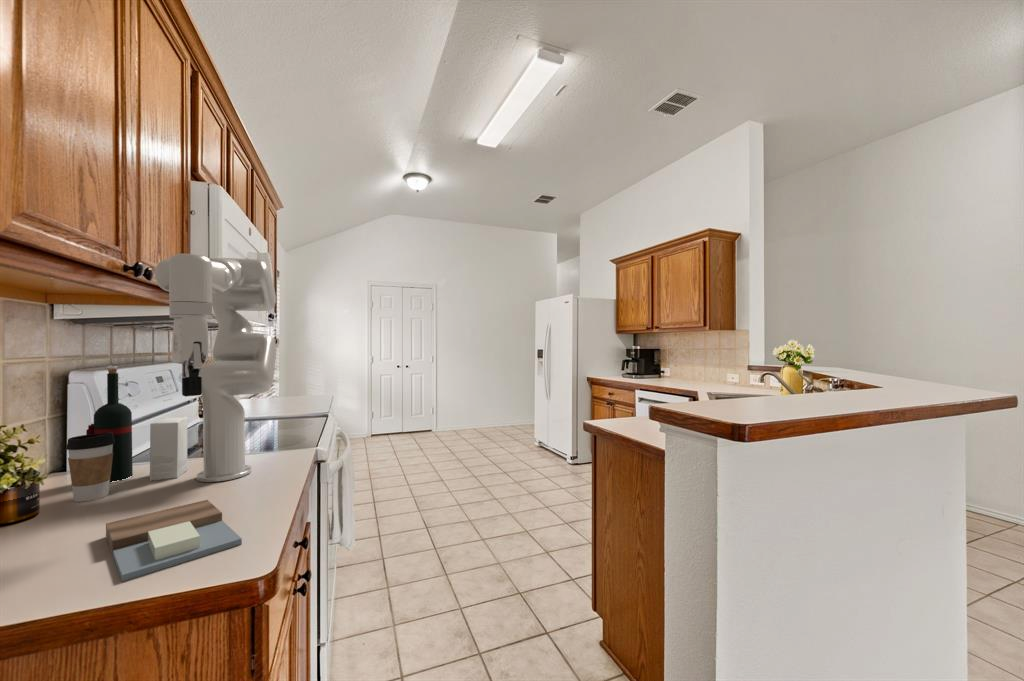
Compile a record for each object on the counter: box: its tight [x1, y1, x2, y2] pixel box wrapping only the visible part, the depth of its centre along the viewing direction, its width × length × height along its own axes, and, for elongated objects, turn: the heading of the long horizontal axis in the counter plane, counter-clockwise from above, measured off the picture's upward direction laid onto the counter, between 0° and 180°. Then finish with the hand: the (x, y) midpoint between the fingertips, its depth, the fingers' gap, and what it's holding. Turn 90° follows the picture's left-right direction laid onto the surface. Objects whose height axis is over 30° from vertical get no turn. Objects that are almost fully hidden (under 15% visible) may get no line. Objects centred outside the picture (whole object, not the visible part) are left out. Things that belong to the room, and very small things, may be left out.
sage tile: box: [148, 521, 200, 560], centre depth 75 cm, size 9×6×2 cm, turn 46°
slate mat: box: [112, 520, 243, 583], centre depth 75 cm, size 12×16×1 cm
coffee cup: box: [65, 432, 115, 503], centre depth 102 cm, size 8×8×15 cm
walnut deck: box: [105, 499, 223, 556], centre depth 83 cm, size 11×16×2 cm
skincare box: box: [149, 416, 189, 481], centre depth 119 cm, size 8×7×16 cm
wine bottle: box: [85, 368, 134, 482], centre depth 115 cm, size 8×10×30 cm
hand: (191, 395), depth 93 cm, fingers closed
